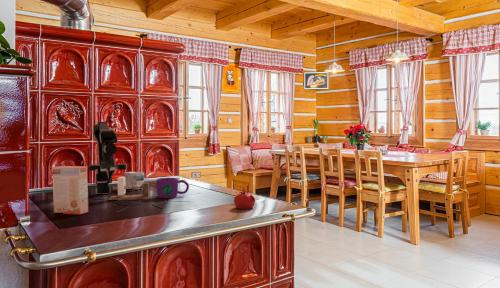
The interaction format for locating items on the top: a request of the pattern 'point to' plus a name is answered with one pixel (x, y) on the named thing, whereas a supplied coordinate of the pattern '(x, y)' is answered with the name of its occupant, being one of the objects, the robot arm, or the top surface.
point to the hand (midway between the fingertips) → (108, 183)
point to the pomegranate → (244, 200)
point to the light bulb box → (134, 178)
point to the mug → (169, 187)
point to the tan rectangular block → (121, 186)
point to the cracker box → (70, 189)
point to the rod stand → (133, 197)
